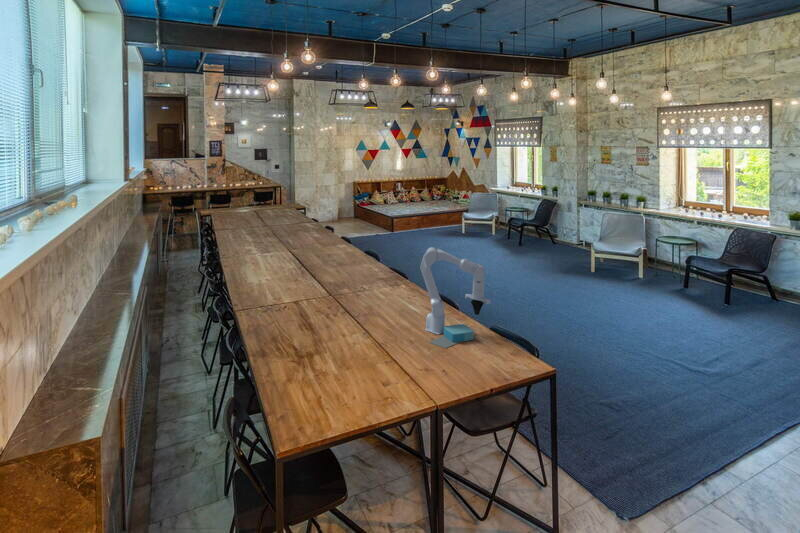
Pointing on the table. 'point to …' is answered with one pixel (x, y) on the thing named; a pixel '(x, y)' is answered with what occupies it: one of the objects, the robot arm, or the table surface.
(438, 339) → the mat
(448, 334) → the data package
